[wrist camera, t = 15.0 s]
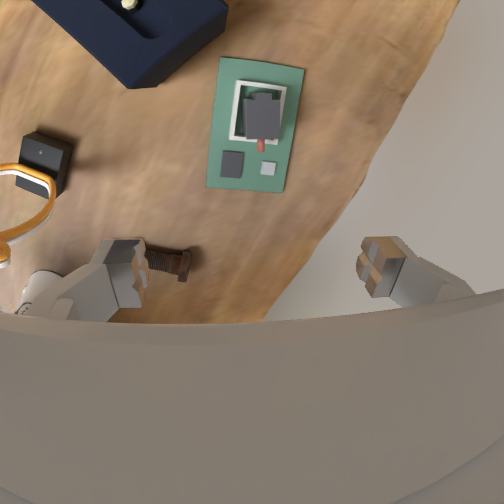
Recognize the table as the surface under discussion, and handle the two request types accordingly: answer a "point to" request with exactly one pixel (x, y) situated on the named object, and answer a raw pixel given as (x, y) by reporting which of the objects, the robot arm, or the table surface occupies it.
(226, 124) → the board
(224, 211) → the table surface
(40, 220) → the lamp
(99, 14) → the speaker
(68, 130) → the table surface
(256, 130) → the plug
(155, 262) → the bolt
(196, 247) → the table surface
